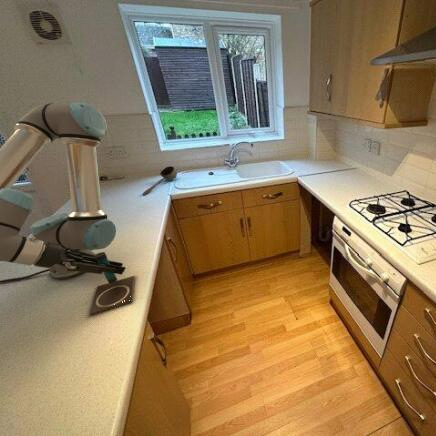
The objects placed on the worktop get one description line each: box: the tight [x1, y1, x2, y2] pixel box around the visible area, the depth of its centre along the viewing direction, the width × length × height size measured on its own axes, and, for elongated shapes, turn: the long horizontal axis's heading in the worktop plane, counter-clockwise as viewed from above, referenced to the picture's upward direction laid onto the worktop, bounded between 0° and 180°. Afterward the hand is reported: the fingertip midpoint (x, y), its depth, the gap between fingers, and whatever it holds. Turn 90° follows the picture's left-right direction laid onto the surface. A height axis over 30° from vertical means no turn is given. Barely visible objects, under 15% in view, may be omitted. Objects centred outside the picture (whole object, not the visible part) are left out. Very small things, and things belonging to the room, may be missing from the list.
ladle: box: [142, 165, 178, 196], centre depth 184 cm, size 12×38×10 cm, turn 171°
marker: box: [95, 251, 118, 283], centre depth 86 cm, size 3×3×12 cm
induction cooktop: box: [89, 275, 136, 316], centre depth 86 cm, size 12×14×1 cm
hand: (122, 268), depth 90 cm, fingers closed on marker, 3 cm apart
